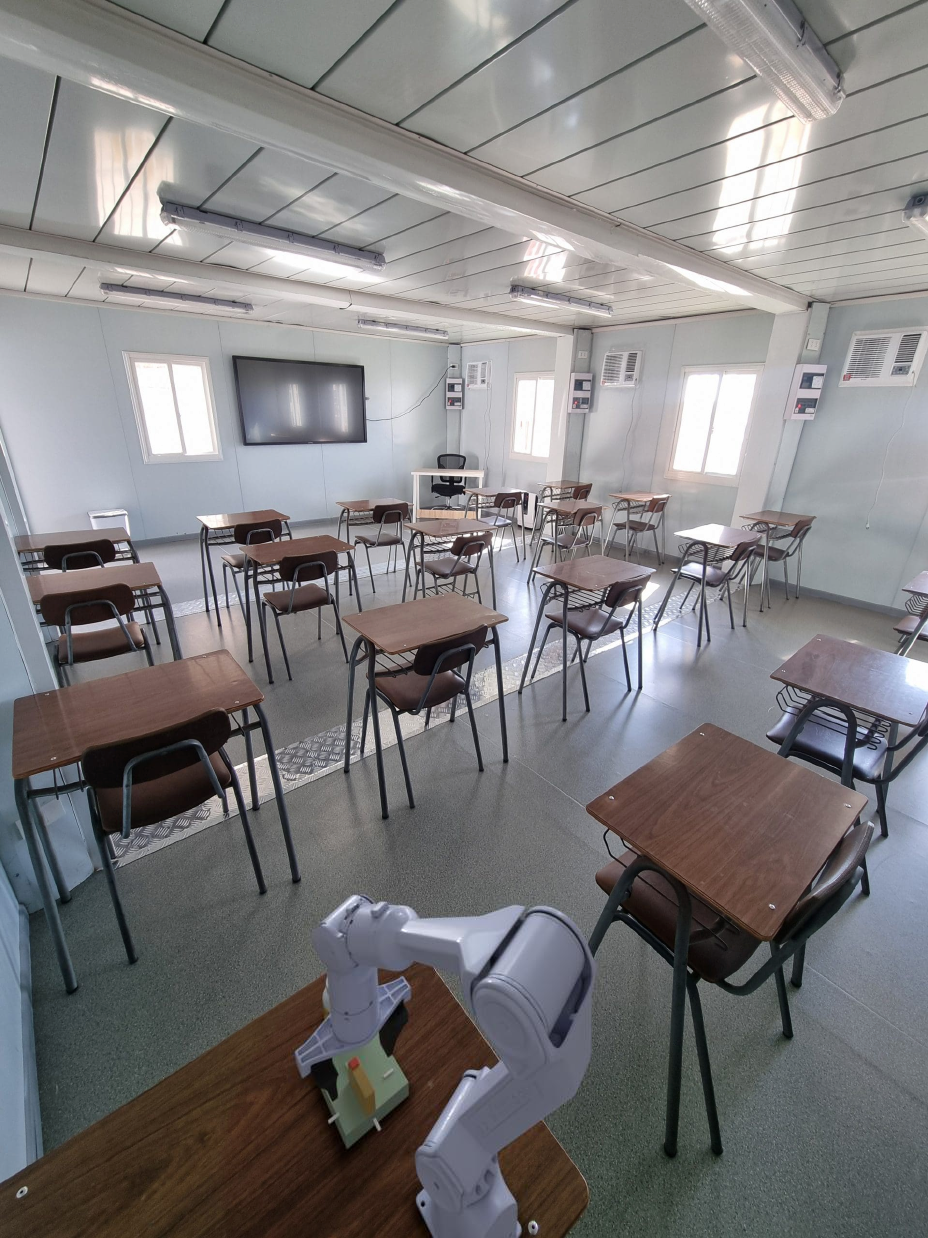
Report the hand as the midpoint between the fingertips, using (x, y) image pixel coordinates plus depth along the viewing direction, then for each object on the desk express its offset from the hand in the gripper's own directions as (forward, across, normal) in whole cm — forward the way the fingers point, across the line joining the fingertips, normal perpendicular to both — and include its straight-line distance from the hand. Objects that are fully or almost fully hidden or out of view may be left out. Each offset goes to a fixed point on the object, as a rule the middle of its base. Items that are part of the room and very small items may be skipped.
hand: (360, 1070), depth 64 cm
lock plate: (+7, 0, -1) cm, 7 cm away
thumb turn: (+5, 0, 0) cm, 5 cm away
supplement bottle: (+7, -2, -11) cm, 13 cm away
